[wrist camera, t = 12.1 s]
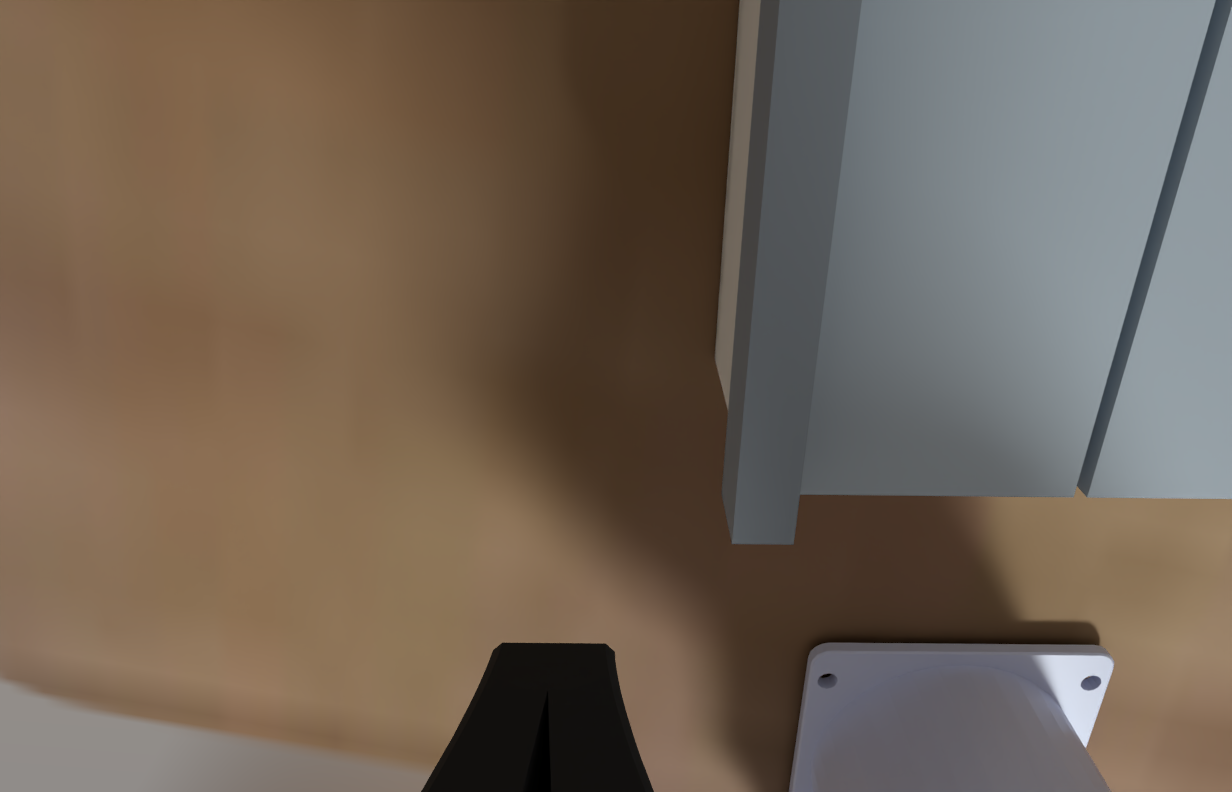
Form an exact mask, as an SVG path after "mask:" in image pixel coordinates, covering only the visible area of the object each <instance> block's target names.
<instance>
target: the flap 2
mask: <svg viewBox="0 0 1232 792" xmlns="http://www.w3.org/2000/svg"><path fill="white" fill-rule="evenodd" d="M1077 486H1078V487H1079V489H1080V490H1081V491H1082V492H1083V493H1084V494H1085V495H1086V497H1097V498H1197V499H1232V0H1216V1H1215V5H1214V8H1213V12H1212V15H1211V19H1210V22H1209V26H1208V29H1207V33H1206V36H1205V40H1204V43H1203V47H1202V50H1201V54H1200V57H1199V61H1198V64H1197V68H1196V71H1195V75H1194V78H1193V82H1192V85H1191V89H1190V92H1189V96H1188V99H1187V102H1186V106H1185V109H1184V113H1183V116H1182V120H1181V123H1180V127H1179V130H1178V134H1177V137H1176V141H1175V144H1174V148H1173V151H1172V155H1171V158H1170V162H1169V165H1168V169H1167V172H1166V176H1165V179H1164V183H1163V186H1162V190H1161V193H1160V197H1159V200H1158V204H1157V207H1156V211H1155V214H1154V218H1153V221H1152V225H1151V228H1150V232H1149V235H1148V239H1147V242H1146V246H1145V249H1144V253H1143V256H1142V260H1141V263H1140V267H1139V270H1138V274H1137V277H1136V281H1135V284H1134V288H1133V291H1132V295H1131V298H1130V302H1129V305H1128V309H1127V312H1126V315H1125V319H1124V322H1123V326H1122V329H1121V333H1120V336H1119V340H1118V343H1117V347H1116V350H1115V354H1114V357H1113V361H1112V364H1111V368H1110V371H1109V375H1108V378H1107V382H1106V385H1105V389H1104V392H1103V396H1102V399H1101V403H1100V406H1099V410H1098V413H1097V417H1096V420H1095V424H1094V427H1093V431H1092V434H1091V438H1090V441H1089V445H1088V448H1087V452H1086V455H1085V459H1084V462H1083V466H1082V469H1081V473H1080V476H1079V480H1078V483H1077Z"/></svg>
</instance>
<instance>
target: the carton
mask: <svg viewBox="0 0 1232 792" xmlns="http://www.w3.org/2000/svg"><path fill="white" fill-rule="evenodd" d="M760 4H761V0H740V2H739V17H738V31H737V45H736V60H735V74H734V88H733V102H732V117H731V131H730V145H729V160H728V174H727V188H726V203H725V217H724V231H723V246H722V260H721V274H720V289H719V303H718V317H717V332H716V346H715V362H716V366H717V370H718V374H719V378H720V381H721V385H722V389H723V393H724V397H725V401H726V405H727V409H728V406H729V394H730V381H731V369H732V356H733V344H734V331H735V318H736V306H737V293H738V281H739V268H740V255H741V243H742V230H743V218H744V205H745V192H746V180H747V167H748V155H749V142H750V130H751V117H752V104H753V92H754V79H755V67H756V54H757V41H758V29H759V16H760Z"/></svg>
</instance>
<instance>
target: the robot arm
mask: <svg viewBox="0 0 1232 792" xmlns="http://www.w3.org/2000/svg"><path fill="white" fill-rule="evenodd" d="M1113 668H1114V661H1113V659H1112V657H1111V656H1110V654H1109V653H1108V651H1107V650H1106V649H1105V648H1103V647H1102V646H1098V645H1055V644H933V643H823V644H820V645H818V646H816V647H814V648H813V649H812V650H811V651H810V654H809V656H808V661H807V668H806V675H805V682H804V689H803V696H802V703H801V710H800V717H799V724H798V731H797V738H796V745H795V752H794V759H793V766H792V773H791V779H790V786H789V792H1111V790H1110V789H1109V787H1108V785H1107V784H1106V782H1105V780H1104V779H1103V777H1102V775H1101V774H1100V772H1099V770H1098V768H1097V767H1096V765H1095V763H1094V762H1093V760H1092V758H1091V757H1090V755H1089V753H1088V752H1087V750H1086V747H1087V744H1088V741H1089V738H1090V735H1091V732H1092V729H1093V726H1094V723H1095V721H1096V718H1097V715H1098V712H1099V709H1100V706H1101V703H1102V700H1103V697H1104V694H1105V691H1106V689H1107V686H1108V683H1109V680H1110V677H1111V674H1112V671H1113ZM828 673H829V674H832V675H830V676H829V677H825V678H822V677H820V676H822V675H823V674H828ZM1088 676H1091V677H1089V678H1087V679H1085V678H1086V677H1088ZM421 792H654V791H653V788H652V786H651V783H650V780H649V778H648V775H647V773H646V770H645V767H644V765H643V762H642V760H641V757H640V754H639V751H638V748H637V745H636V742H635V739H634V736H633V733H632V730H631V727H630V723H629V720H628V717H627V713H626V710H625V706H624V702H623V698H622V695H621V690H620V686H619V681H618V676H617V670H616V663H615V652H614V651H613V650H612V649H611V648H610V647H609V646H608V645H607V644H584V643H502V644H500V645H499V646H498V647H497V648H495V649H494V650H493V652H492V655H491V658H490V660H489V663H488V665H487V668H486V670H485V673H484V675H483V677H482V679H481V682H480V684H479V686H478V688H477V690H476V693H475V695H474V697H473V699H472V701H471V703H470V705H469V707H468V709H467V711H466V713H465V715H464V717H463V718H462V720H461V722H460V724H459V726H458V728H457V730H456V732H455V734H454V736H453V737H452V739H451V741H450V743H449V744H448V746H447V748H446V750H445V751H444V753H443V755H442V757H441V758H440V760H439V762H438V763H437V765H436V767H435V769H434V770H433V772H432V774H431V776H430V777H429V779H428V781H427V783H426V785H425V786H424V788H423V790H422V791H421Z"/></svg>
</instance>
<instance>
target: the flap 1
mask: <svg viewBox="0 0 1232 792" xmlns="http://www.w3.org/2000/svg"><path fill="white" fill-rule="evenodd" d="M1215 1H1216V0H761V4H760V16H759V29H758V41H757V54H756V67H755V79H754V92H753V104H752V117H751V130H750V142H749V155H748V167H747V180H746V192H745V205H744V218H743V230H742V243H741V255H740V268H739V281H738V293H737V306H736V318H735V331H734V344H733V356H732V369H731V381H730V394H729V406H728V419H727V432H726V444H725V457H724V469H723V482H722V498H723V503H724V508H725V513H726V518H727V523H728V528H729V532H730V537H731V542H732V544H783V545H794V538H795V530H796V522H797V514H798V506H799V498H800V495H898V496H998V497H1074V494H1075V490H1076V487H1077V483H1078V480H1079V476H1080V473H1081V469H1082V466H1083V462H1084V459H1085V455H1086V452H1087V448H1088V445H1089V441H1090V438H1091V434H1092V431H1093V427H1094V424H1095V420H1096V417H1097V413H1098V410H1099V406H1100V403H1101V399H1102V396H1103V392H1104V389H1105V385H1106V382H1107V378H1108V375H1109V371H1110V368H1111V364H1112V361H1113V357H1114V354H1115V350H1116V347H1117V343H1118V340H1119V336H1120V333H1121V329H1122V326H1123V322H1124V319H1125V315H1126V312H1127V309H1128V305H1129V302H1130V298H1131V295H1132V291H1133V288H1134V284H1135V281H1136V277H1137V274H1138V270H1139V267H1140V263H1141V260H1142V256H1143V253H1144V249H1145V246H1146V242H1147V239H1148V235H1149V232H1150V228H1151V225H1152V221H1153V218H1154V214H1155V211H1156V207H1157V204H1158V200H1159V197H1160V193H1161V190H1162V186H1163V183H1164V179H1165V176H1166V172H1167V169H1168V165H1169V162H1170V158H1171V155H1172V151H1173V148H1174V144H1175V141H1176V137H1177V134H1178V130H1179V127H1180V123H1181V120H1182V116H1183V113H1184V109H1185V106H1186V102H1187V99H1188V96H1189V92H1190V89H1191V85H1192V82H1193V78H1194V75H1195V71H1196V68H1197V64H1198V61H1199V57H1200V54H1201V50H1202V47H1203V43H1204V40H1205V36H1206V33H1207V29H1208V26H1209V22H1210V19H1211V15H1212V12H1213V8H1214V5H1215Z"/></svg>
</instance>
